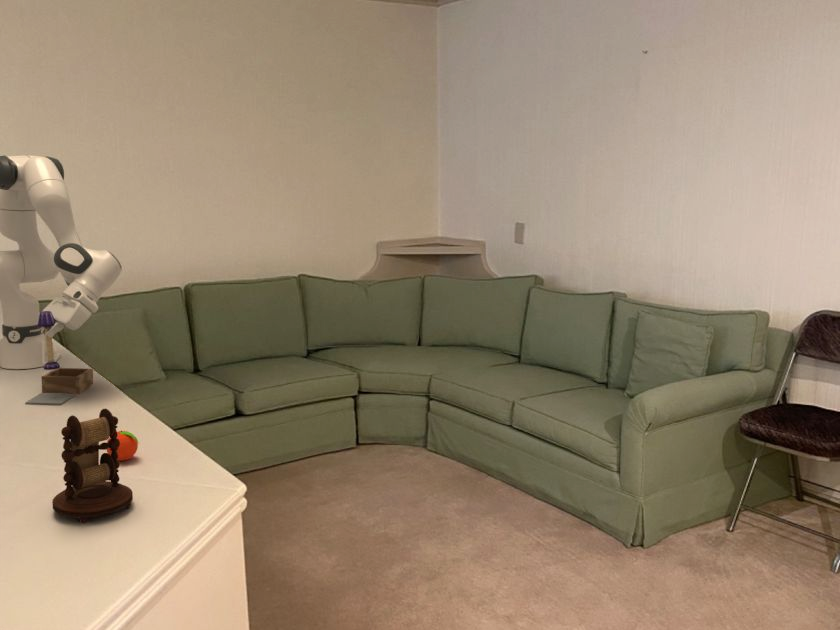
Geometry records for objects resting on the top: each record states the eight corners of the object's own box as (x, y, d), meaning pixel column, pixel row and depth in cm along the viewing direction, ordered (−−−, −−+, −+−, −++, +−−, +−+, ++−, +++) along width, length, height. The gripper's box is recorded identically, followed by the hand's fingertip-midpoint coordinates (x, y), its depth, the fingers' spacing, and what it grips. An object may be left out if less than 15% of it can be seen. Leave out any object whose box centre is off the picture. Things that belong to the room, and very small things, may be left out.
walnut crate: (57, 383, 245) (57, 367, 244) (93, 384, 246) (92, 368, 245) (42, 392, 234) (41, 376, 234) (79, 393, 235) (78, 377, 234)
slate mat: (40, 394, 233) (40, 393, 232) (75, 395, 233) (75, 393, 233) (25, 404, 223) (25, 402, 223) (60, 405, 223) (60, 403, 223)
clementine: (148, 457, 185) (147, 428, 184) (130, 467, 179) (129, 437, 177) (119, 453, 187) (118, 424, 186) (100, 463, 181) (99, 433, 179)
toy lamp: (54, 370, 224) (50, 312, 221) (38, 370, 224) (33, 312, 221) (62, 366, 228) (58, 310, 226) (46, 366, 229) (42, 310, 226)
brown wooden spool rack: (108, 488, 167) (105, 397, 163) (147, 508, 158) (145, 412, 154) (39, 509, 155) (34, 412, 152) (76, 532, 146) (72, 429, 143)
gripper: (56, 287, 235) (23, 322, 229) (84, 295, 220) (50, 333, 215) (72, 300, 238) (40, 335, 233) (101, 309, 224) (67, 347, 219)
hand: (45, 334), depth 224 cm, fingers closed on toy lamp
